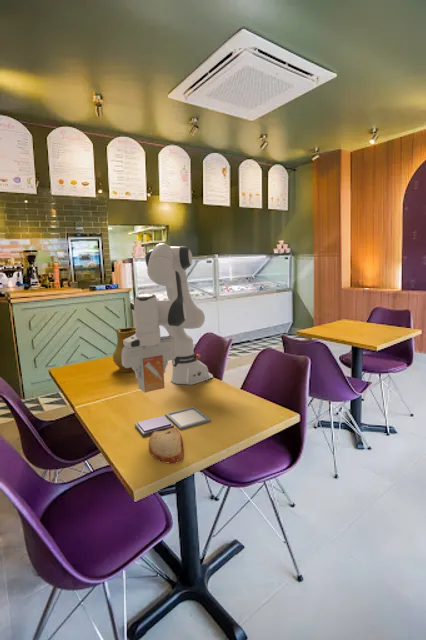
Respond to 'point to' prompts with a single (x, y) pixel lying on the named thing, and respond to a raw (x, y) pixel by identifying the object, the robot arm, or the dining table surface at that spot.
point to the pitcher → (117, 353)
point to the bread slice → (167, 445)
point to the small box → (151, 373)
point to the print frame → (187, 417)
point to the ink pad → (153, 425)
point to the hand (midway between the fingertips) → (150, 374)
